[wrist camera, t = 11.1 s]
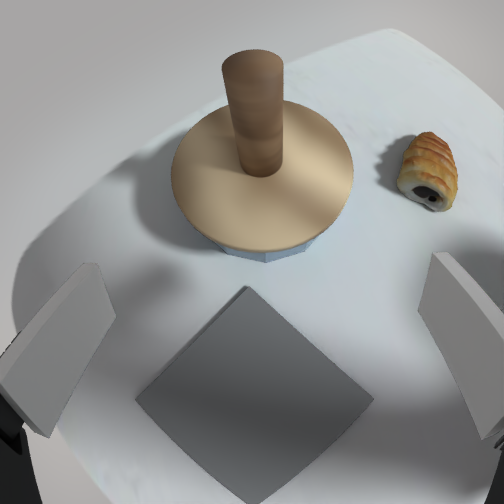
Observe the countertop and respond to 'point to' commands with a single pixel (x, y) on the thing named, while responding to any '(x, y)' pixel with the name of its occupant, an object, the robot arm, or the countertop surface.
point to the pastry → (429, 172)
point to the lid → (261, 164)
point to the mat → (253, 400)
